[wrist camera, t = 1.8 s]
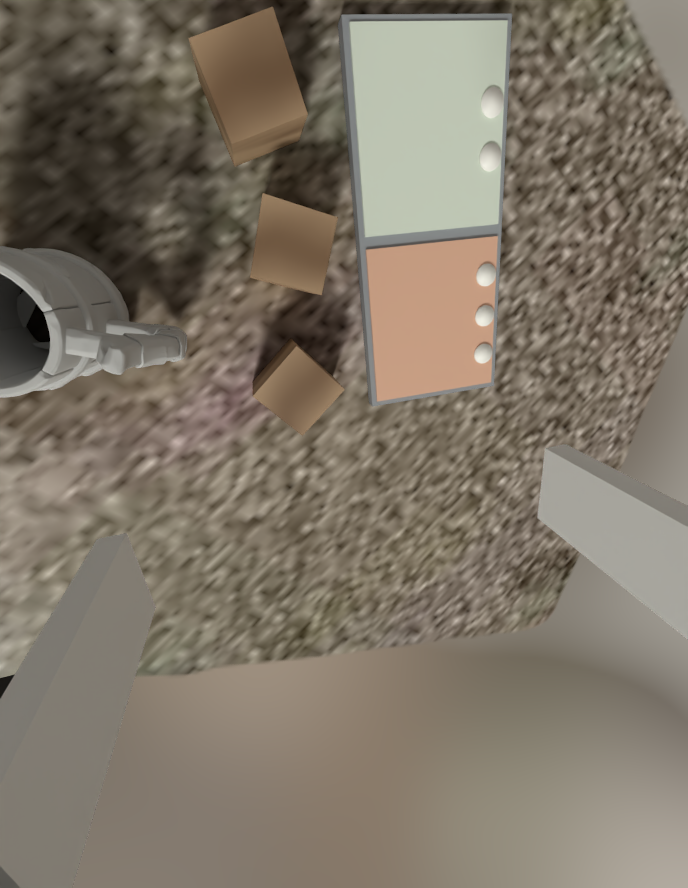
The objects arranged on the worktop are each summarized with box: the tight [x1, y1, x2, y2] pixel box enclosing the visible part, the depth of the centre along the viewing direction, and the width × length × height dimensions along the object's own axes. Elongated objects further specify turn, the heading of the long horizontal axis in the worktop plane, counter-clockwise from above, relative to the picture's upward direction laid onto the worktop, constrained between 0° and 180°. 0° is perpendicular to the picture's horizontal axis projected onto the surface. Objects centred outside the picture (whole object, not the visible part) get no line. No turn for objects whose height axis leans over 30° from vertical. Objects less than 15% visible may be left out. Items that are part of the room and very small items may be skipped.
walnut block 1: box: [189, 7, 308, 166], centre depth 22 cm, size 4×4×4 cm
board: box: [338, 14, 512, 406], centre depth 29 cm, size 24×11×1 cm, turn 6°
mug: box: [0, 246, 187, 397], centre depth 21 cm, size 8×12×12 cm, turn 77°
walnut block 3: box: [253, 338, 345, 436], centre depth 29 cm, size 4×4×4 cm
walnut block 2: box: [250, 193, 338, 295], centre depth 26 cm, size 4×4×4 cm
